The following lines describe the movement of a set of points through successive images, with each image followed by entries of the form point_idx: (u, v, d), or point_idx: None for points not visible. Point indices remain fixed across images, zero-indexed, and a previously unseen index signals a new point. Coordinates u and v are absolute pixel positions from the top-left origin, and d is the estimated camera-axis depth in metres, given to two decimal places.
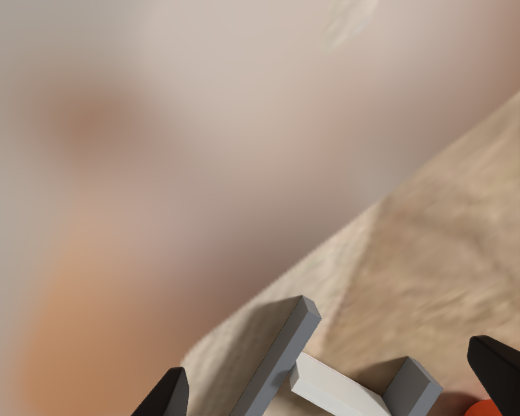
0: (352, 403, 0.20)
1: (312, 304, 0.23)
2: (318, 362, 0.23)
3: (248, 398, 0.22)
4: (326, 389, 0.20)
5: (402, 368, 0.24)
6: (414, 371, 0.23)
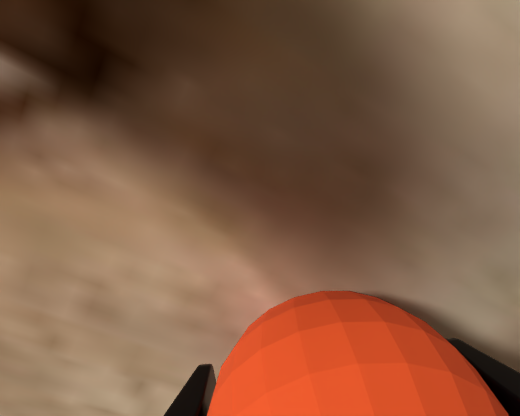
0: None
1: None
2: None
3: None
4: None
5: None
6: None
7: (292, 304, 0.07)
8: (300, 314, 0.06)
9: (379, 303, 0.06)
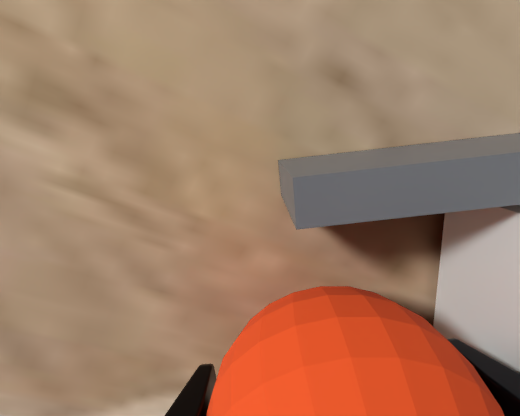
0: None
1: None
2: None
3: None
4: None
5: None
6: None
7: (291, 299, 0.07)
8: (298, 309, 0.06)
9: (376, 299, 0.06)
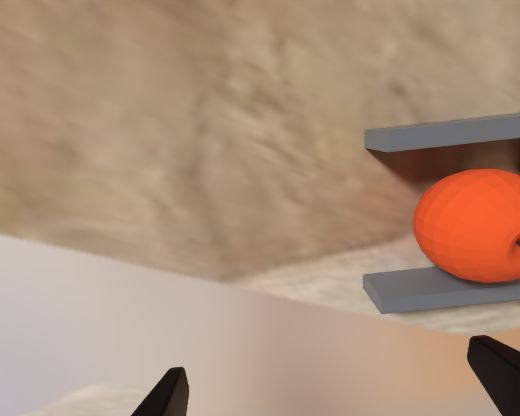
0: None
1: (368, 285, 0.20)
2: None
3: None
4: None
5: None
6: None
7: (451, 175, 0.17)
8: (461, 173, 0.16)
9: None
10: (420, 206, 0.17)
